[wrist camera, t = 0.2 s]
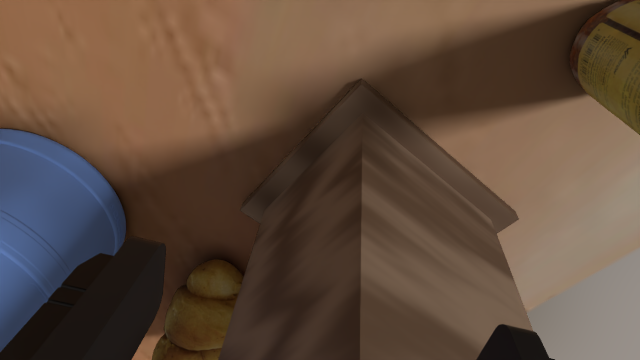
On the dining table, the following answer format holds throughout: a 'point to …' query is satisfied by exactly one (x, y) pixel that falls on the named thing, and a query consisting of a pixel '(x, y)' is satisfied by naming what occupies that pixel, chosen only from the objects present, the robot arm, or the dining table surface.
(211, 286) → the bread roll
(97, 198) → the water jug
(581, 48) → the sauce bottle
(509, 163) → the dining table surface
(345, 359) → the stand
